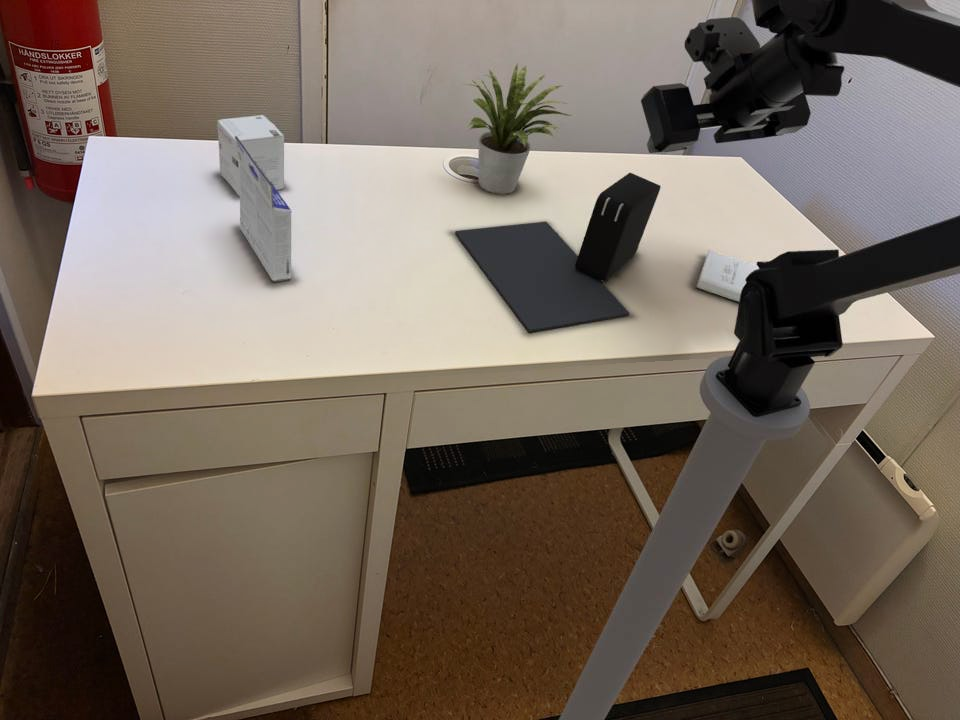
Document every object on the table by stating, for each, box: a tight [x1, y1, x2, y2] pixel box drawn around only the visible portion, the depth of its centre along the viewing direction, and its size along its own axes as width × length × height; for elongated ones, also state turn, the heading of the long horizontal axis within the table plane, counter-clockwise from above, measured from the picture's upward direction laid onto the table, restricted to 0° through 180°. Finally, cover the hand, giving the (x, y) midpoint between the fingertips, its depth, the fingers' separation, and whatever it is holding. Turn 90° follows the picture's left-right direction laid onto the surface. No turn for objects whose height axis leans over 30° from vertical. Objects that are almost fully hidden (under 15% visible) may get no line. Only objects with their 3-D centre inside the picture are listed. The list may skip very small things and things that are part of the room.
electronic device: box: [575, 172, 662, 283], centre depth 90 cm, size 4×10×10 cm, turn 147°
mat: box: [454, 221, 631, 334], centre depth 89 cm, size 20×13×1 cm, turn 25°
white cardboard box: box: [216, 114, 285, 197], centre depth 92 cm, size 6×6×7 cm
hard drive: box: [696, 249, 759, 303], centre depth 93 cm, size 2×8×12 cm
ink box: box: [235, 136, 292, 282], centre depth 80 cm, size 12×2×12 cm, turn 31°
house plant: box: [461, 63, 572, 195], centre depth 98 cm, size 14×14×16 cm
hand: (682, 143), depth 86 cm, fingers open, 9 cm apart
